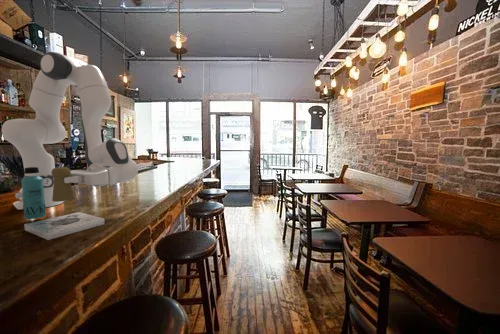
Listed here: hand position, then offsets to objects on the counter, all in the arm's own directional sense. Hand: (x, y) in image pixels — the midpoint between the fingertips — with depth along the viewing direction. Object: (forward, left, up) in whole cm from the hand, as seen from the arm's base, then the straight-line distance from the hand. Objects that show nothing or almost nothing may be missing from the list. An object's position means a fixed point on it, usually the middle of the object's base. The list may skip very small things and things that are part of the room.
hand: (59, 180), depth 87 cm
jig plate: (0, +1, -16) cm, 16 cm away
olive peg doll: (0, +1, -7) cm, 7 cm away
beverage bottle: (-18, -1, -17) cm, 25 cm away
